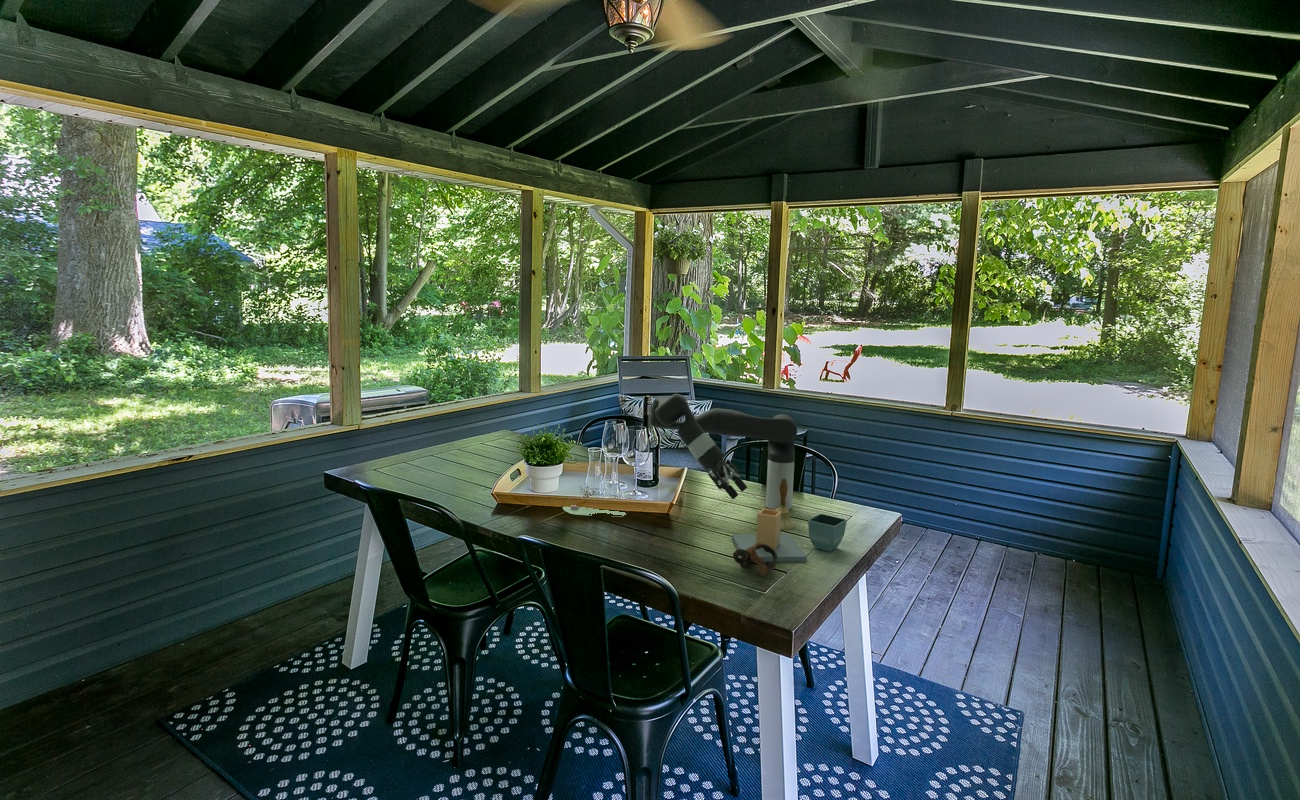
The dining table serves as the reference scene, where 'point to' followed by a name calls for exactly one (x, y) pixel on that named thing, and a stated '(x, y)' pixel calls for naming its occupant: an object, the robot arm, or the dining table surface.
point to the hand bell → (784, 508)
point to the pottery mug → (756, 557)
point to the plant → (588, 509)
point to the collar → (768, 527)
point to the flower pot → (826, 531)
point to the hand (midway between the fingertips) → (740, 493)
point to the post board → (784, 550)
